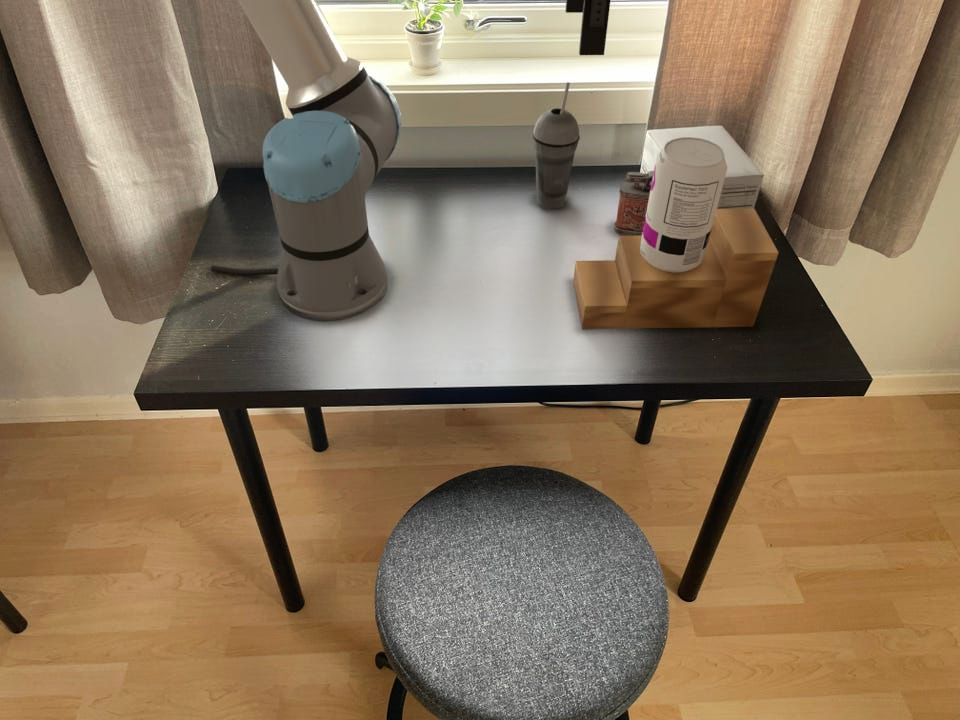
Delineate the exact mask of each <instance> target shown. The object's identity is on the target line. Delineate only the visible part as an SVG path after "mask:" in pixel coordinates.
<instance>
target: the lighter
mask: <svg viewBox="0 0 960 720" xmlns="http://www.w3.org/2000/svg"><path fill="white" fill-rule="evenodd" d="M653 173H654V171H649V172H648V173H647V174H643V173H640V171H629V172H627V173H626V179H625V182H624V183H622V184H620V186H619V199H618V207H617V213H616V219H615V222H614V225H613V231H614V233H615V234H617V235H619V236H642V233H643V228H644V222H645V217H646V211H647V206H648V201H649V195H650V190H651V184H652V179H653Z"/></svg>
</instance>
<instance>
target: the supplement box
mask: <svg viewBox="0 0 960 720" xmlns="http://www.w3.org/2000/svg"><path fill="white" fill-rule="evenodd" d="M680 137H694V138H702V139H705V140H709V141H711V142H713V143H715V144H717V145H719V146H720V147H721V148H722V149H723V150H724V153H725V157H724V158H725V161H726V164H727V171H726V175H725V179H724V183H723V187H722V191H721V194H720V198H719V202H718V206H717V209H755V207H756V203H757V200H758V196H759V193H760V189H761V186H762V183H763V181H764V176H765V174H764V173H763V171H761V169H760V168H759V167H758V165H756V164H755V162H754V161H753V160H752V159H751V158H750V157H749V156H748V154H747V153H746V152H745V151H744V150H743V149H742V147H741V146H740V145H739V144H738V143H737V142H736V140H735V139H734V138H733V137H732V136H731V135H730V133H729V132H728V131H727V130H726V128H725V127H724V126H723V125H722V124H721V125H702V126H691V127H690V126H689V127H675V128H673V127H672V128H659V129H658V128H657V129H648V130H646V133H645V139H644V144H643V153H642V157H641V163H640V170H639V172H640V173H643V174H647V173H648V172H649V171H654V168H655V163H656V158H657V156H658V155H659V153H660V152H661V151H662V149H663V148H664V146H665V144H666V143H667V142H669V141H670V140H672V139H676V138H680Z"/></svg>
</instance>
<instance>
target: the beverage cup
mask: <svg viewBox="0 0 960 720" xmlns="http://www.w3.org/2000/svg"><path fill="white" fill-rule="evenodd" d="M570 83H571V82H566V84H565V87H564V93H563V98H562V103H561V108H560V107H555V108H551V109H548V110H546V111H545V112H543V113H542V114H541V115H540V116H539V117H538V118H537V121H536V122H535V125H534V127H533V132H532V139H533V147H534V151H535V152H534V153H535V187H536V188H535V189H536V198H537V199H536V200H537V204H538V205H539V206H540V207H542V208H545V209H550V210H553V209H559V208H562V207H563V206H564V205H565V202H566V199H567V194H568V189H569V184H570V179H571V173H572V168H573V163H574V159H575V158H574V157H575V153H576V150H577V147H578V144H579V142H580V139H581V137H580V127H579V123H578V121H577V119H576V117H575V116H574V115H573V114H572V113H571V112H570V111H568V110H567V109H566V103H567V99H568V94H569V88H570Z"/></svg>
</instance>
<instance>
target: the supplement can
mask: <svg viewBox="0 0 960 720" xmlns="http://www.w3.org/2000/svg"><path fill="white" fill-rule="evenodd" d="M724 157H725V153H724V150H723V149H722V148H721V147H720V146H719V145H717V144H715V143H713V142H711V141H709V140H705V139H702V138H694V137H680V138H676V139H672V140H670V141H669V142H667V143H666V144H665V146H664V148H663V149H662V151H661V152H660V153H659V155H658V156H657V158H656V163H655V168H654V173H653V179H652V184H651V190H650V195H649V201H648V206H647V211H646V217H645V222H644V228H643V233H642V239H641V244H640V252H641V255H642V256H643V257H644V259H645V260H646V261H647V262H648V263H649V264H650V265H652V266H653V267H655V268H657V269H660V270H662V271H666V272H673V273H677V272H685V271H689V270H691V269H693V268H696V267H697V266H698V265H700V264H701V263H702V261H703V259H704V256H705V252H706V248H707V245H708V241H709V237H710V233H711V229H712V225H713V221H714V218H715V214H716V210H717V206H718V202H719V198H720V194H721V191H722V187H723V183H724V179H725V175H726V171H727V164H726V161H725V158H724Z"/></svg>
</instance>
